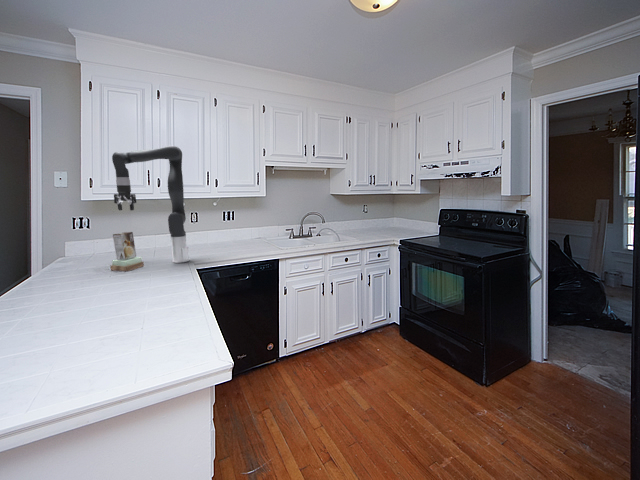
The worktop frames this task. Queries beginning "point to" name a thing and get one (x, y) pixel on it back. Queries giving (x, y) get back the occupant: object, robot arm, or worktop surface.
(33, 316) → the worktop surface
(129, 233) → the coffee box
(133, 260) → the top slab
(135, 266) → the bottom slab
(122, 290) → the worktop surface
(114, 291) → the worktop surface
